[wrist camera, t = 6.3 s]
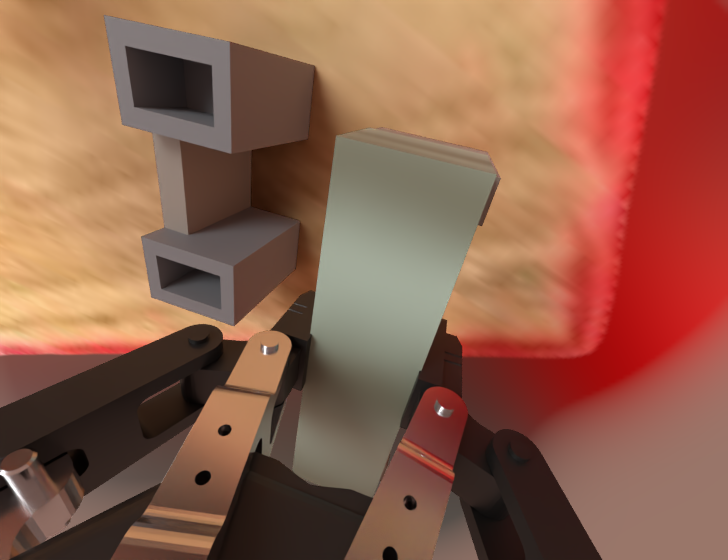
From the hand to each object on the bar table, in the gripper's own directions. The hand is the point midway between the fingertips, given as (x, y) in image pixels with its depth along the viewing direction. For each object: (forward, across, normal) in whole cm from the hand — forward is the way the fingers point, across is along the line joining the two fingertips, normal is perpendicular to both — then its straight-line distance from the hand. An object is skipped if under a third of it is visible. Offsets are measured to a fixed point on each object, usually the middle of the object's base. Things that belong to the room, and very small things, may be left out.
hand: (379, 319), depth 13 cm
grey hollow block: (+16, +14, 0) cm, 21 cm away
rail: (+3, 0, 0) cm, 3 cm away
